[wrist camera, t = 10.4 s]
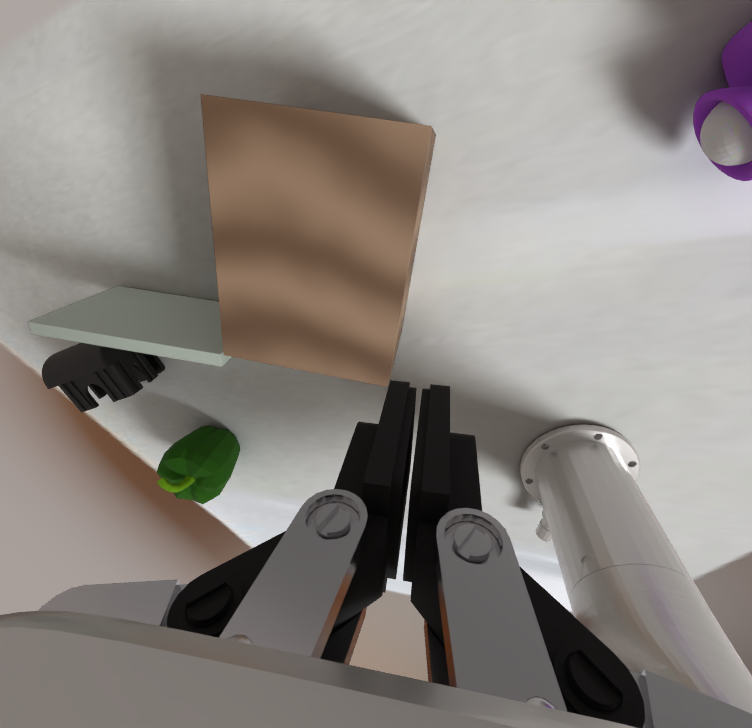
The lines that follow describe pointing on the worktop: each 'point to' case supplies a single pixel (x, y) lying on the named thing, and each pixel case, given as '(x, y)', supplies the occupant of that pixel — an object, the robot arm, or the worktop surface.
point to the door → (141, 324)
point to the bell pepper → (199, 464)
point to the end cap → (99, 373)
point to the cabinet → (314, 233)
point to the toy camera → (729, 112)
